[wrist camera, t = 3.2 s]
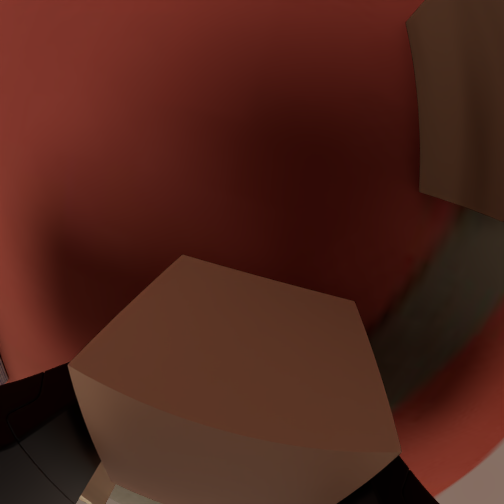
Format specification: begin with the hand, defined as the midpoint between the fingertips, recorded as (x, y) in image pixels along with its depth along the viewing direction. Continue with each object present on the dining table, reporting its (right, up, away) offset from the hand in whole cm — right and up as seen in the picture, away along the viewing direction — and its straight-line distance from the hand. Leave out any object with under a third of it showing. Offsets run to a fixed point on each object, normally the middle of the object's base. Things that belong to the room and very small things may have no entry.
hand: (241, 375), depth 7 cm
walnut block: (+7, +7, -2) cm, 10 cm away
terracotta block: (0, 0, +1) cm, 1 cm away
